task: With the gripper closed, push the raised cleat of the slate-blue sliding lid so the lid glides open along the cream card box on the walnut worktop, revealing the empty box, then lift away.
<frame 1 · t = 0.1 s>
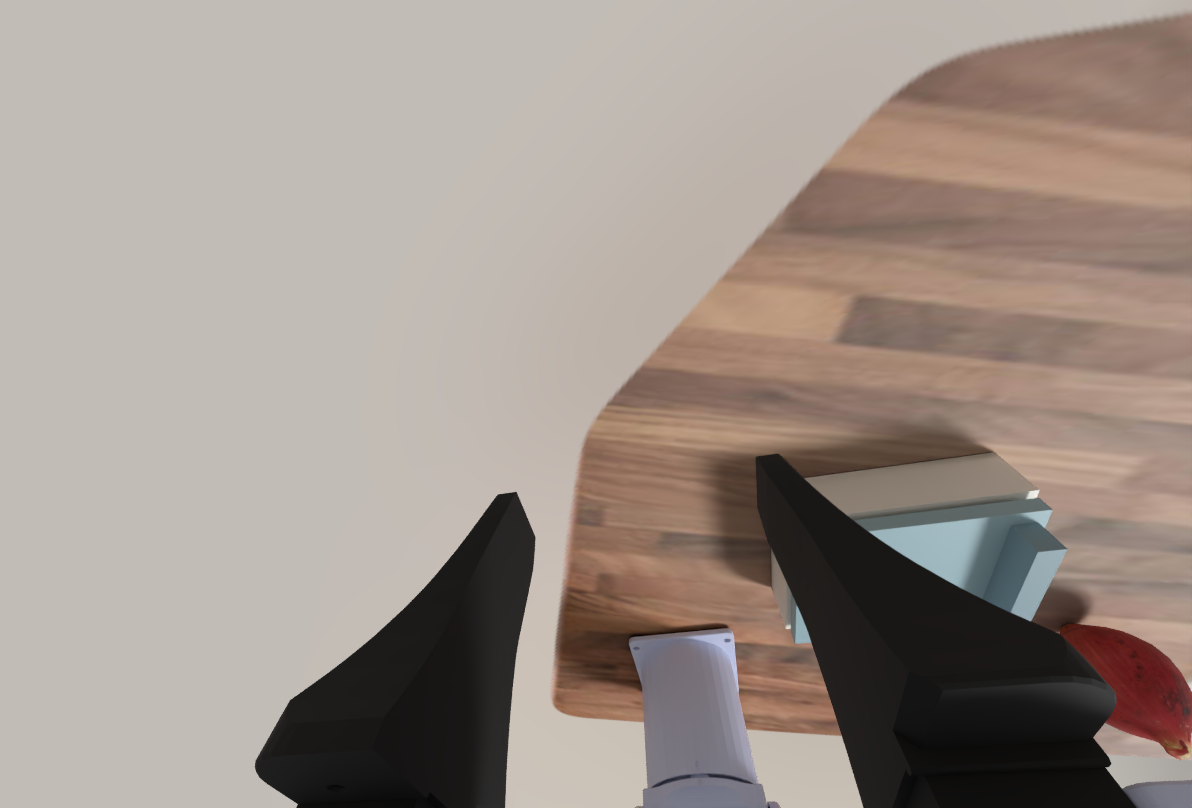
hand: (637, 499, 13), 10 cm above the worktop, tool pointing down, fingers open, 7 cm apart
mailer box: (869, 528, 28), on the worktop
lid: (910, 592, 24), point 5 cm above the worktop, slide at 0.0 cm
onion: (1066, 622, 32), on the worktop
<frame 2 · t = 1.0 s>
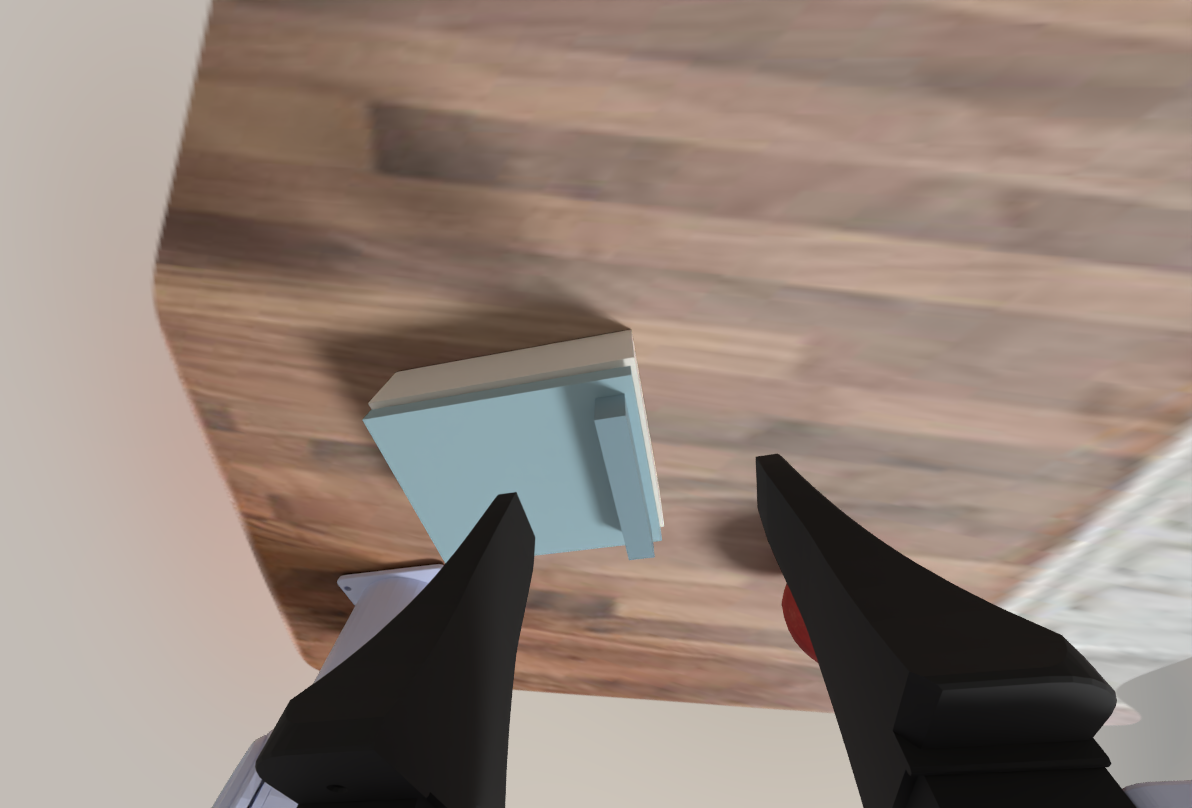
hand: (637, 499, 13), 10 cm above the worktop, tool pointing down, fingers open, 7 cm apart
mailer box: (537, 433, 24), on the worktop
lid: (523, 491, 20), point 5 cm above the worktop, slide at 0.0 cm
onion: (811, 557, 29), on the worktop
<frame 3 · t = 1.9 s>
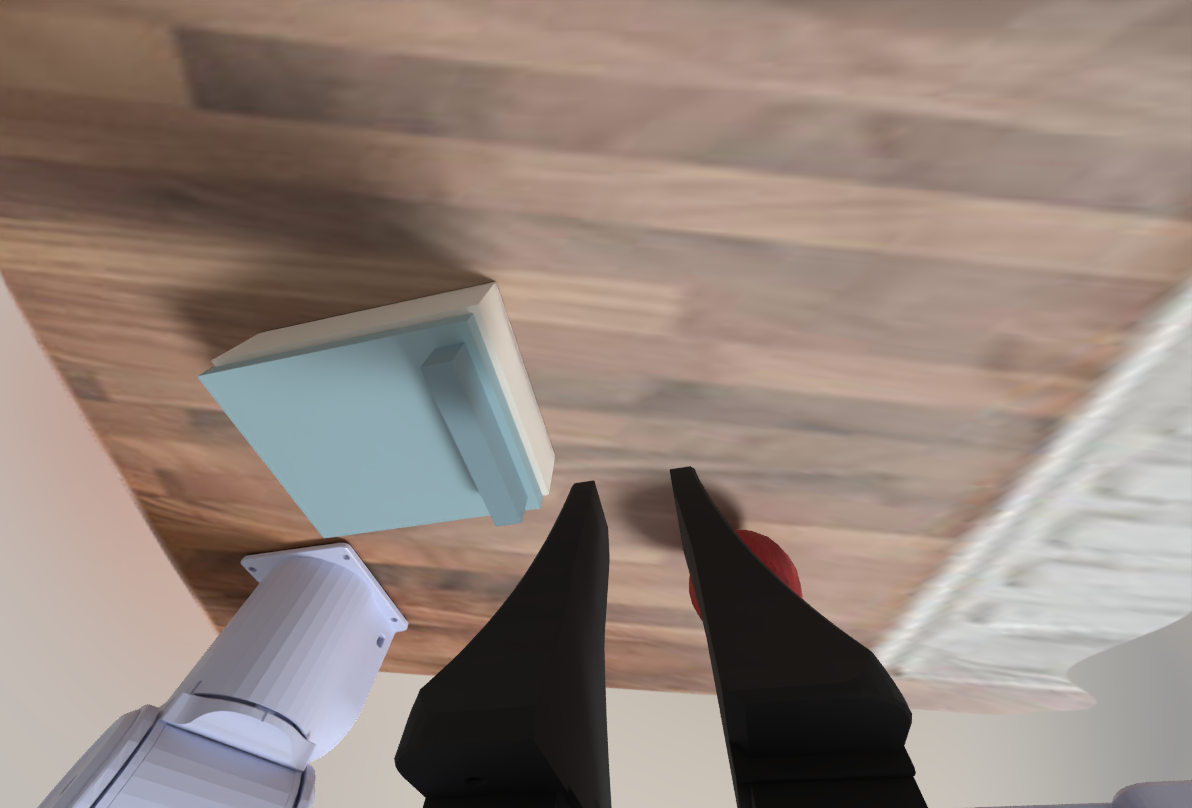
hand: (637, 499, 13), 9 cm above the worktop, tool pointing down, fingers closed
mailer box: (418, 399, 23), on the worktop
lid: (379, 453, 19), point 4 cm above the worktop, slide at 0.0 cm
onion: (727, 531, 27), on the worktop
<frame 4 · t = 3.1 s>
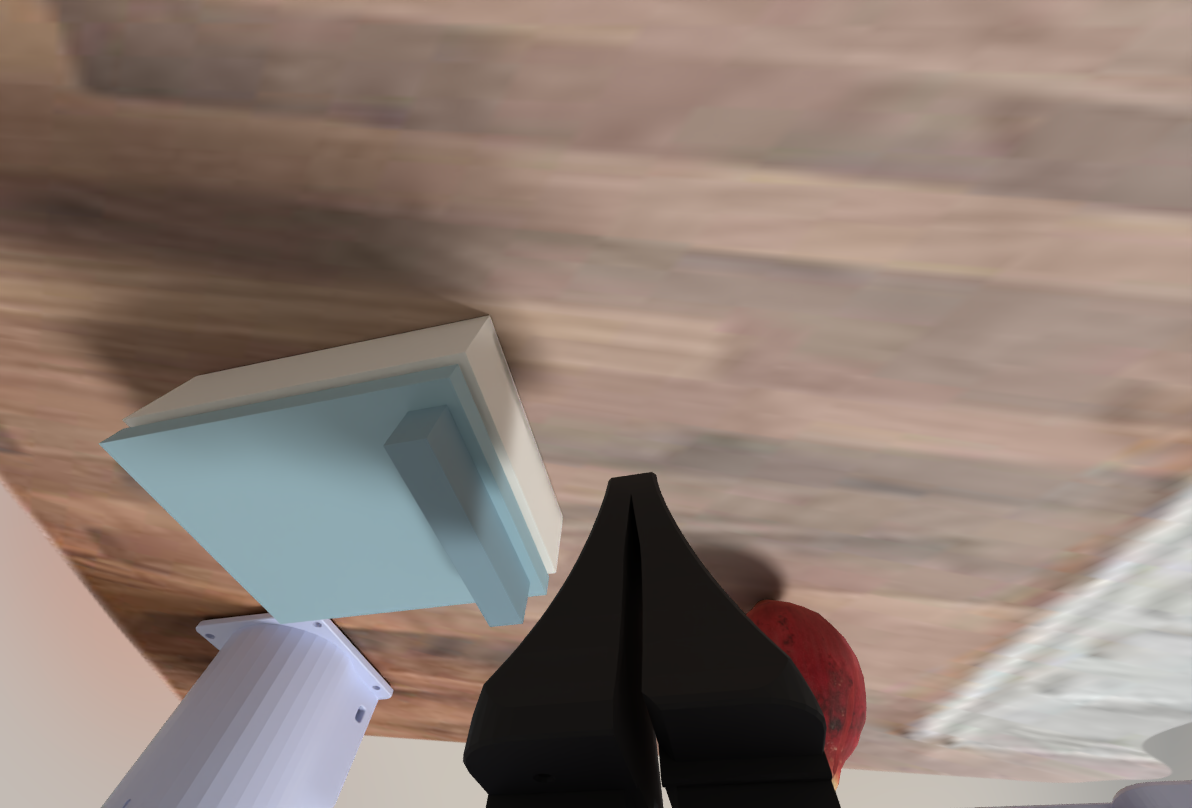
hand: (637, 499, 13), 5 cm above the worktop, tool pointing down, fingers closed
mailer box: (396, 453, 19), on the worktop
lid: (340, 536, 15), point 4 cm above the worktop, slide at 0.0 cm
onion: (765, 597, 23), on the worktop
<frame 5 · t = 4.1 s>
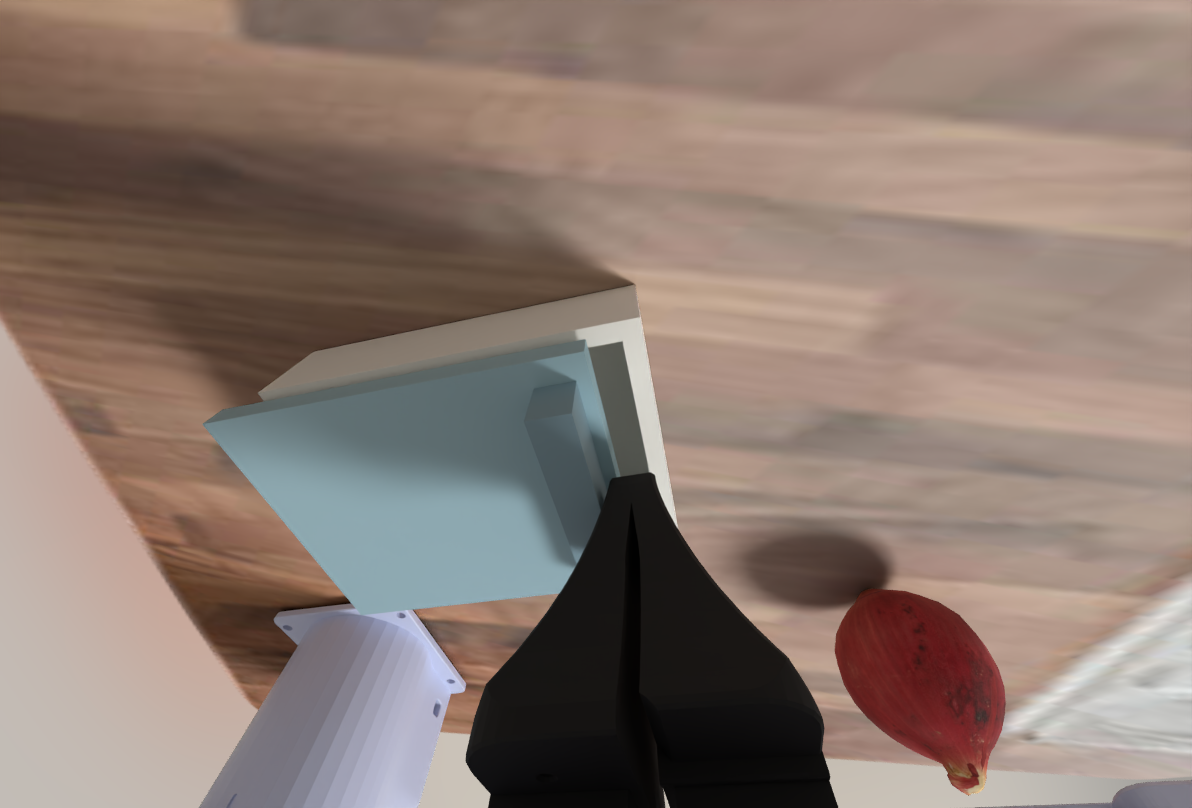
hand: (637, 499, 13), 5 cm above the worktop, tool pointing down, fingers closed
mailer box: (510, 434, 18), on the worktop
lid: (443, 521, 14), point 5 cm above the worktop, slide at 1.4 cm, touching gripper
onion: (868, 587, 23), on the worktop
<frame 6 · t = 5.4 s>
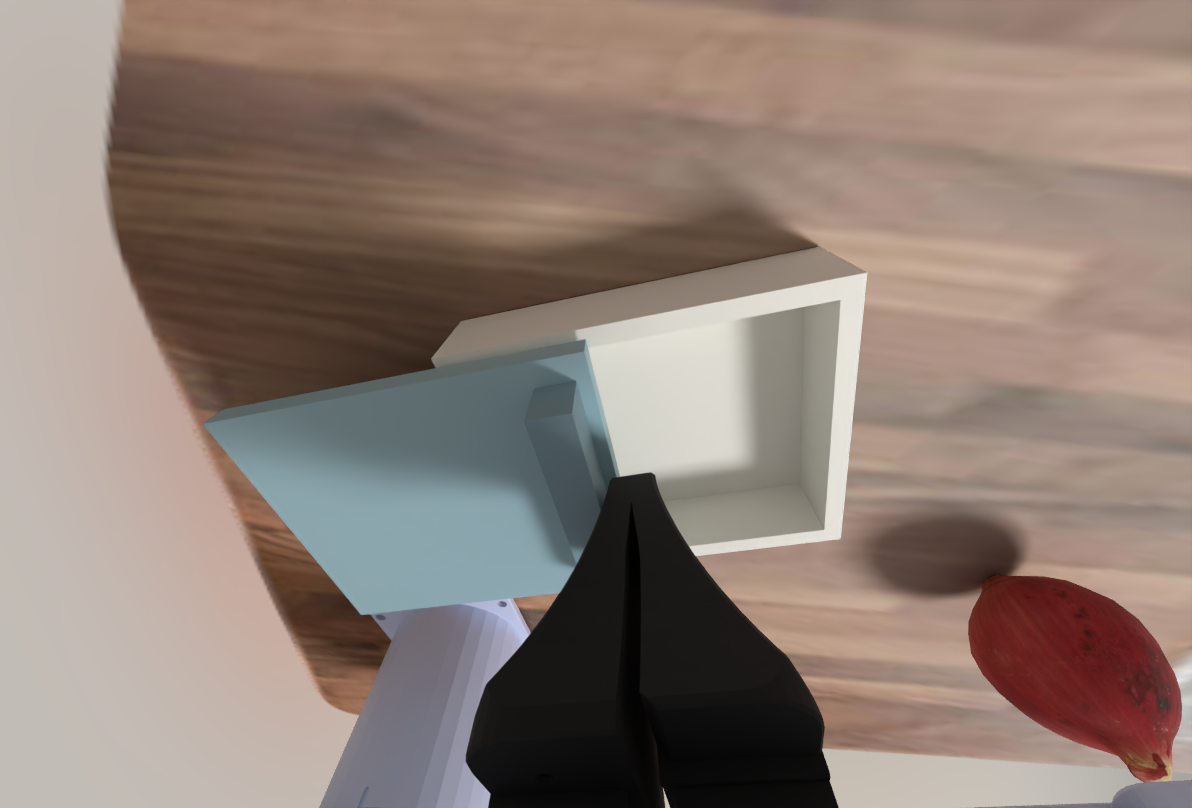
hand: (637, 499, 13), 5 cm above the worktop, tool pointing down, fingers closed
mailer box: (652, 410, 17), on the worktop
lid: (443, 521, 14), point 4 cm above the worktop, slide at 7.2 cm, touching gripper
onion: (992, 574, 22), on the worktop
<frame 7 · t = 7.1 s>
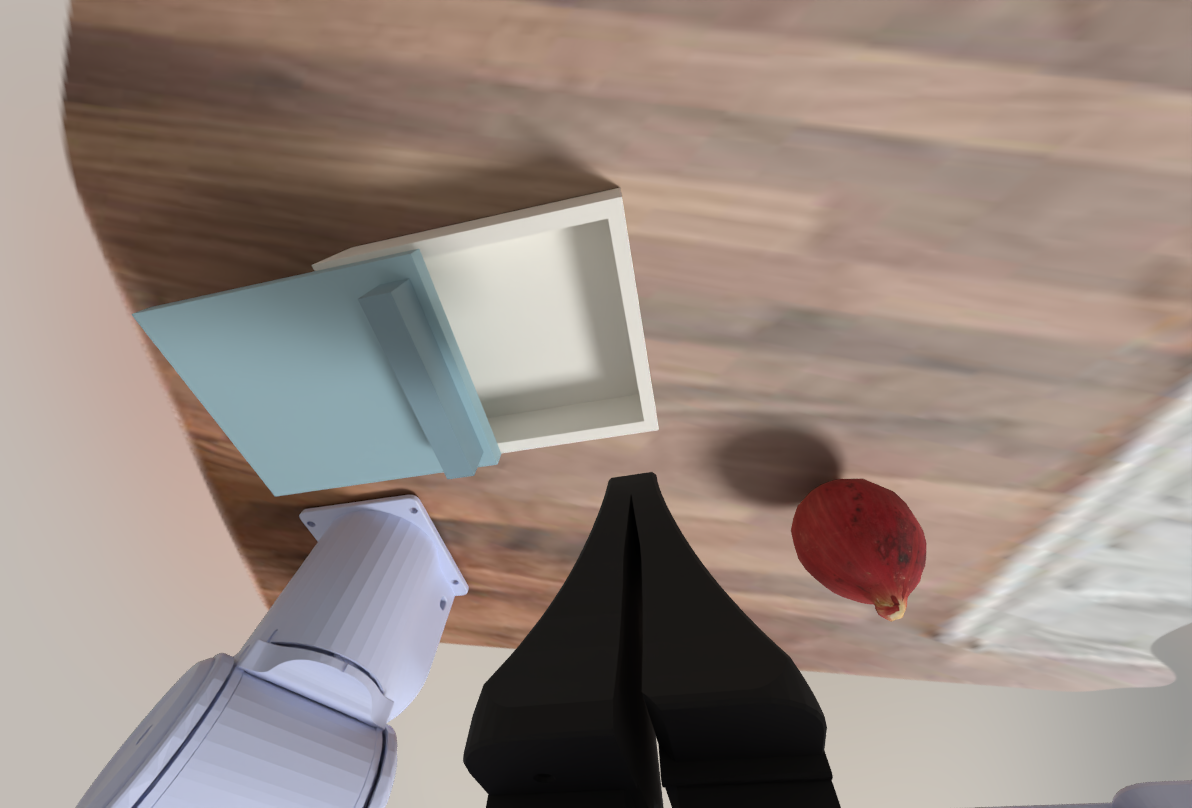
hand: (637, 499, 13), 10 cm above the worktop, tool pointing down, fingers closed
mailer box: (515, 328, 21), on the worktop
lid: (325, 401, 18), point 5 cm above the worktop, slide at 7.3 cm
onion: (823, 485, 26), on the worktop
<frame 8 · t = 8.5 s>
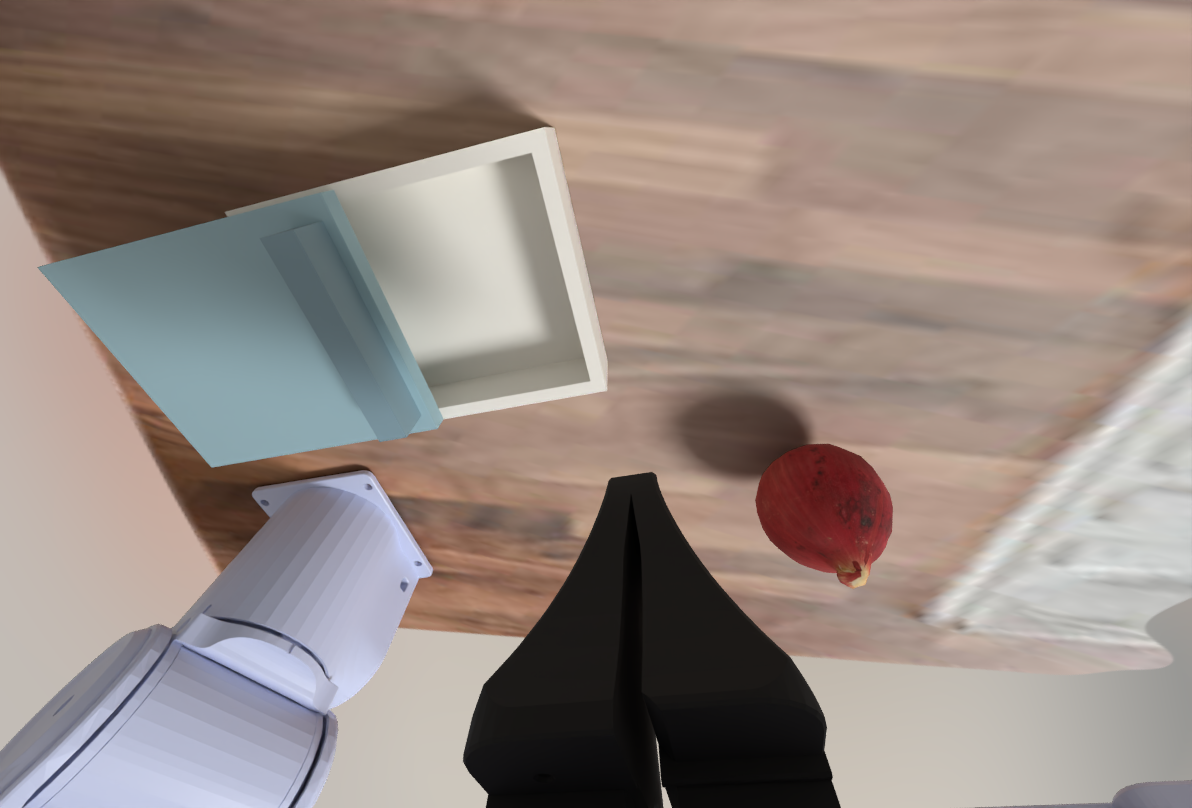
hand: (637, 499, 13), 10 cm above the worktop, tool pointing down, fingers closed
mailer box: (456, 287, 20), on the worktop
lid: (249, 359, 17), point 4 cm above the worktop, slide at 7.3 cm
onion: (792, 455, 25), on the worktop
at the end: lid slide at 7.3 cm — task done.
